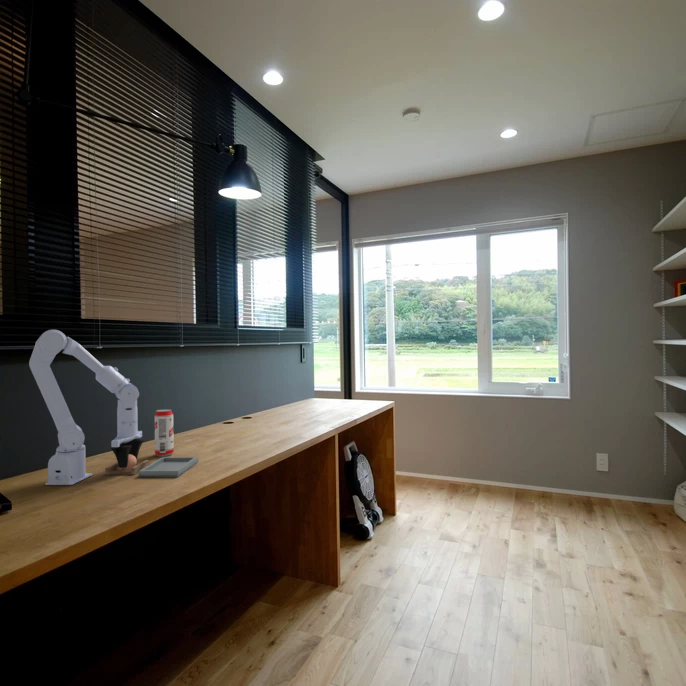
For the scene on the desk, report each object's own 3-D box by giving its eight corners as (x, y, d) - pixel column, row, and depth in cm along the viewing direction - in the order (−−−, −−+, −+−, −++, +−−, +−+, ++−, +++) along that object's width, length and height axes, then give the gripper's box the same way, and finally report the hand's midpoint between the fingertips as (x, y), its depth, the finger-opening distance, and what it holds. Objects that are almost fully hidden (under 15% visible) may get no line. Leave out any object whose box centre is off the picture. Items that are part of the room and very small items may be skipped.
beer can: (153, 457, 148) (153, 411, 148) (156, 453, 154) (155, 409, 154) (172, 456, 150) (172, 410, 150) (174, 452, 156) (174, 408, 156)
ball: (131, 472, 131) (131, 456, 131) (115, 472, 131) (115, 456, 131) (139, 468, 136) (139, 452, 136) (124, 468, 136) (124, 452, 136)
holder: (134, 474, 129) (134, 468, 129) (105, 474, 129) (105, 468, 129) (148, 466, 138) (148, 460, 138) (121, 466, 138) (121, 460, 138)
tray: (178, 477, 126) (178, 470, 126) (138, 477, 126) (138, 471, 126) (198, 462, 142) (198, 456, 142) (162, 462, 142) (162, 456, 142)
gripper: (127, 425, 126) (128, 471, 126) (151, 417, 140) (151, 458, 140) (104, 426, 126) (104, 471, 126) (130, 417, 141) (130, 458, 141)
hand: (127, 464), depth 133 cm, fingers closed on ball, 5 cm apart
